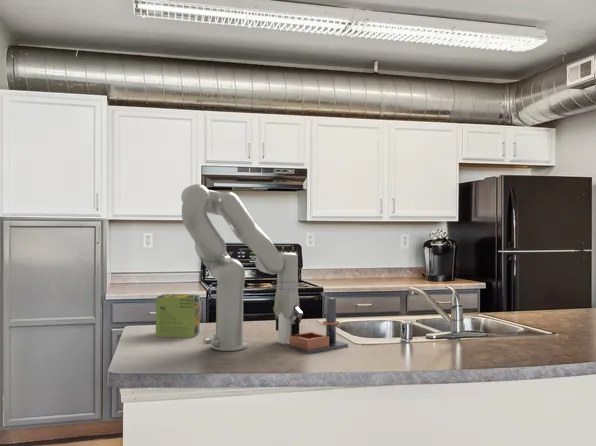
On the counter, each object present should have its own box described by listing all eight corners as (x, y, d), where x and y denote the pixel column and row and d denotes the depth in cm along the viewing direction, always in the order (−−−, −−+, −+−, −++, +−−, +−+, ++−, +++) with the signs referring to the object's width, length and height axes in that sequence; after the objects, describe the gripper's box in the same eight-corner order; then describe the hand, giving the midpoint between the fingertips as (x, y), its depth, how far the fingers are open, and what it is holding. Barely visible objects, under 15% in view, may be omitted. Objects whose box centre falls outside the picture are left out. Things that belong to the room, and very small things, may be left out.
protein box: (195, 337, 213) (195, 297, 213) (155, 337, 213) (155, 296, 213) (200, 332, 223) (200, 293, 223) (162, 331, 223) (162, 293, 223)
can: (296, 341, 207) (296, 309, 207) (294, 345, 201) (295, 312, 201) (279, 340, 208) (279, 308, 208) (277, 344, 202) (277, 311, 201)
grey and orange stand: (309, 353, 188) (309, 303, 188) (288, 347, 197) (288, 299, 197) (348, 346, 199) (348, 299, 199) (326, 340, 208) (326, 295, 208)
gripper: (265, 284, 209) (265, 329, 209) (293, 289, 195) (293, 337, 195) (282, 283, 213) (281, 327, 214) (310, 287, 200) (309, 334, 200)
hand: (287, 332), depth 204 cm, fingers open, 9 cm apart
